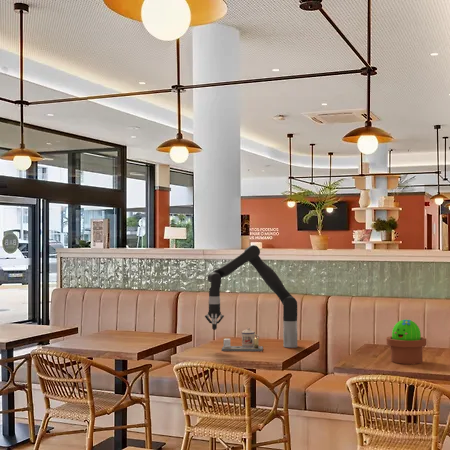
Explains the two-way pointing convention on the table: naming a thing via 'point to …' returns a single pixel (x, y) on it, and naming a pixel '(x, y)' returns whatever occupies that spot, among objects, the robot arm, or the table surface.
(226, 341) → the light grey block
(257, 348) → the plate
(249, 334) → the teacup with lid
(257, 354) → the table surface
